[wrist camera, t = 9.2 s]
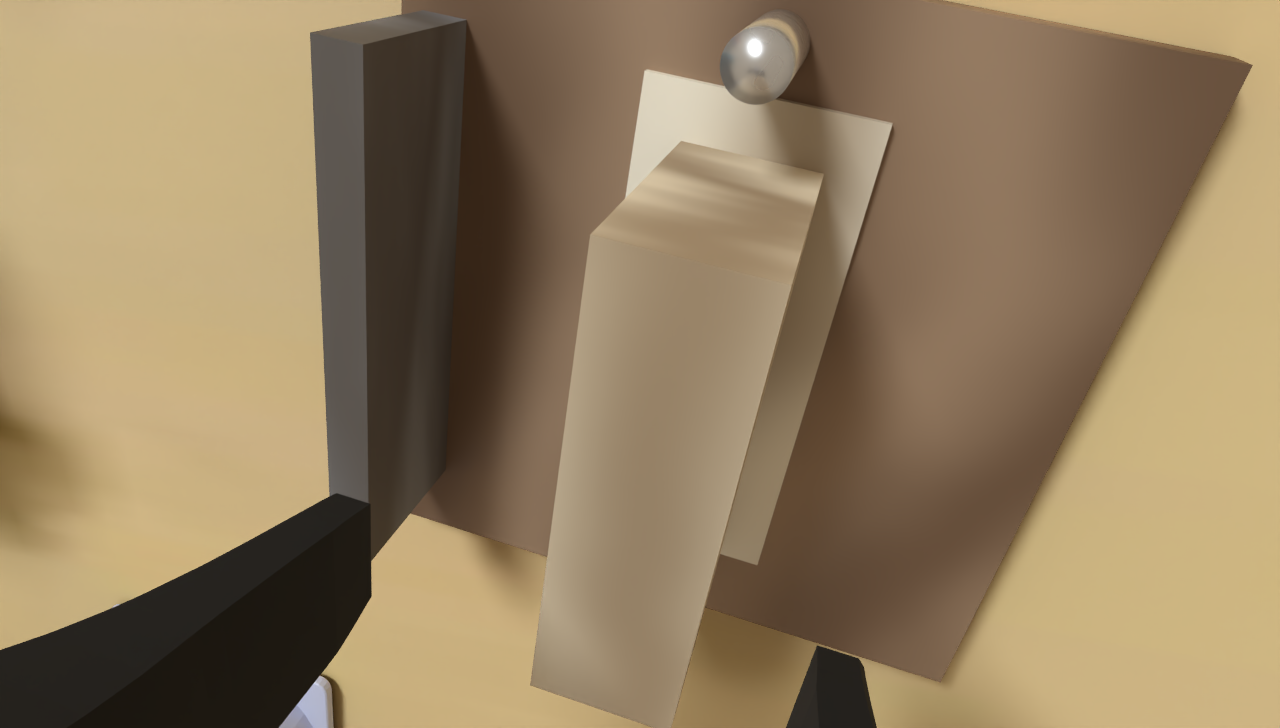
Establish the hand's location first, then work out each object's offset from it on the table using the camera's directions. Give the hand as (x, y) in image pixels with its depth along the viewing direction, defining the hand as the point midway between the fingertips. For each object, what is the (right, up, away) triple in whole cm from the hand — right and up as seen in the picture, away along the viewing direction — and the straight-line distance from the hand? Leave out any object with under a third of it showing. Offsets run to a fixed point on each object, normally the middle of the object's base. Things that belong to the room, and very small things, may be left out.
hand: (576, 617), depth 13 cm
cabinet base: (+3, +5, +8) cm, 9 cm away
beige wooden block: (+2, +4, +7) cm, 8 cm away
